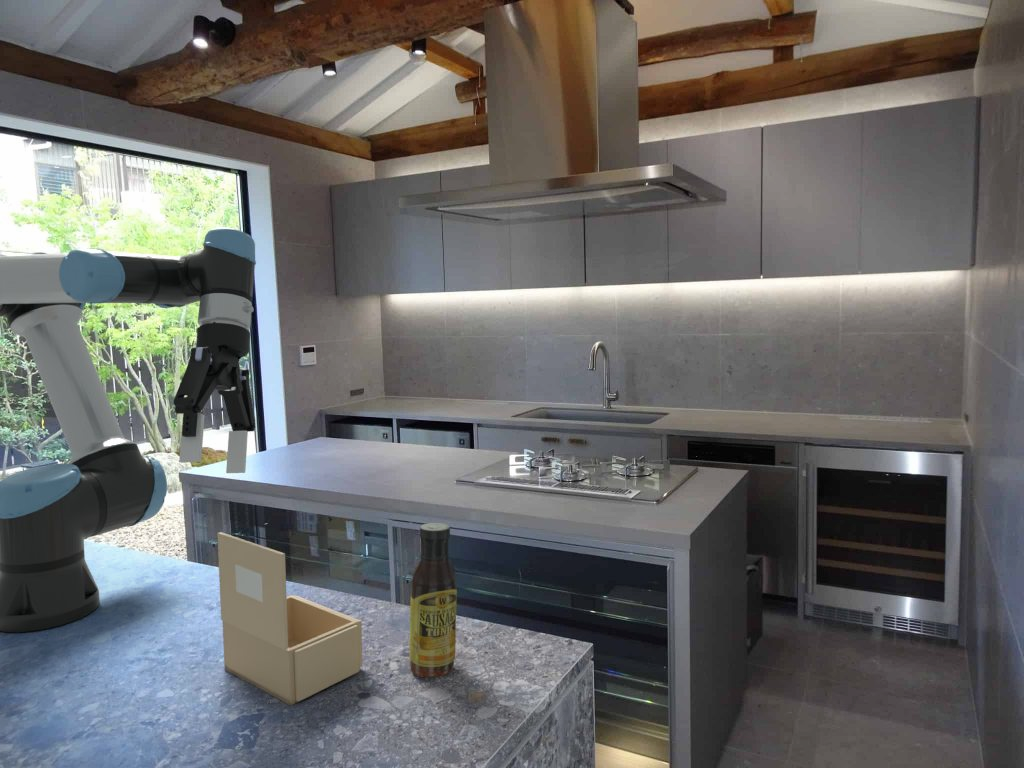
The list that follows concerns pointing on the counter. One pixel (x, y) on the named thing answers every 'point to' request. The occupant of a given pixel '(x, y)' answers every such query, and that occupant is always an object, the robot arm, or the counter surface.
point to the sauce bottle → (433, 605)
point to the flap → (253, 589)
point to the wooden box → (297, 652)
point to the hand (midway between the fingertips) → (214, 468)
